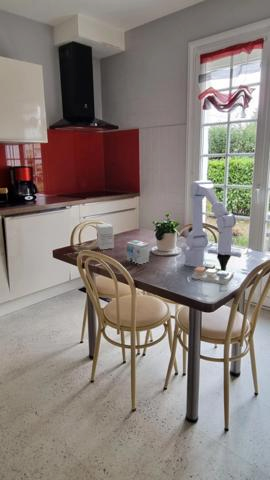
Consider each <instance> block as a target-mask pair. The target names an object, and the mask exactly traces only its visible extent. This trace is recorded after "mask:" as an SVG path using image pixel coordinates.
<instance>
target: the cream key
mask: <svg viewBox="0 0 270 480" xmlns="http://www.w3.org/2000/svg"><path fill="white" fill-rule="evenodd" d="M215 269H216V268H214V269H208V270H206V274H208V275H215V274H216V273H217V270H215Z"/></svg>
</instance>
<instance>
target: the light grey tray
mask: <svg viewBox="0 0 270 480" xmlns="http://www.w3.org/2000/svg"><path fill="white" fill-rule="evenodd" d="M203 268H204V266H203ZM214 269H215V270H216V268H214ZM226 271H227V272H229V275H228V276H227V277H226V278H225V277H219V276H217V274H218V271H217V273H216V274H215V275H208V274H206V269H205V272H204V273H203V274H202V273H196V272H194V273H193V274H192V275H191V276H192V277H191V279H193V278H194V279H195V280H198V279H200V281H204V282H210V283H217V284H221V285H228V283H229V281H231V279H232V278H233V277H234V274H235V272H232V271H228V270H226Z"/></svg>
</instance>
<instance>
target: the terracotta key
mask: <svg viewBox="0 0 270 480" xmlns="http://www.w3.org/2000/svg"><path fill="white" fill-rule="evenodd" d="M203 267H204V266H203ZM203 267H195V268H194V271H193V272H194V273H195V272H196V273H202V274H203V273H204V272H205V269H206V268H203Z"/></svg>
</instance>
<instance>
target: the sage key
mask: <svg viewBox="0 0 270 480" xmlns="http://www.w3.org/2000/svg"><path fill="white" fill-rule="evenodd" d="M215 269H216V270H217V271H218V272H219V271H220V270H221V266H220V265H217V266H215ZM225 271H227V268H226V269H225Z"/></svg>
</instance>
